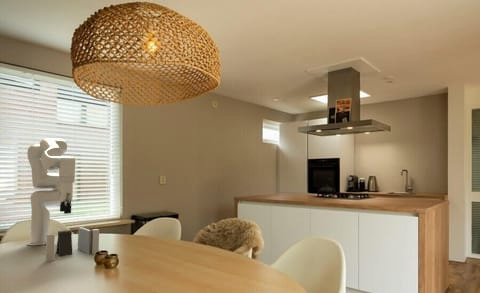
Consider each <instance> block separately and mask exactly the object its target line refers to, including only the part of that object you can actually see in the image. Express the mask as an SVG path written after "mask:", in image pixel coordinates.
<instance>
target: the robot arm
mask: <svg viewBox="0 0 480 293" xmlns="http://www.w3.org/2000/svg"><path fill="white" fill-rule="evenodd" d="M27 148H28V149H27V152H26V153H27V154H26V155H27V160H28V162H29V165H30V167H31V180H32V187H33V189H37V190H36V191H34V192H32V193H31V195H30V198H29V199H30V205H31V218H30V219H31V221H30V238H29V240H30V241H28V242H26V245H28V246H44V245H46V236H47V234H50V218H51V217H50V216H51V213H50V211H49V210H48V208H47V207H50V206H51V207H52V206H59V212H62V213H63V214H65V215H66V214H71V213H72V201H73V195H74V194H73V192H74V190H73V186H74V185H73V184H74V183H75V182H76V179H75V176H76V158H75V157H73V156H72V157H71V156H63V155H64V154H65V153H66V152H67V150H68V143H67V142H66V140H64V139H62V138H48V137H47V138H44V139H41V140H40V142H39V144H31V145H30V146H29V147H27ZM49 171H58V173H49ZM48 189H50V190H48Z"/></svg>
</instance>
